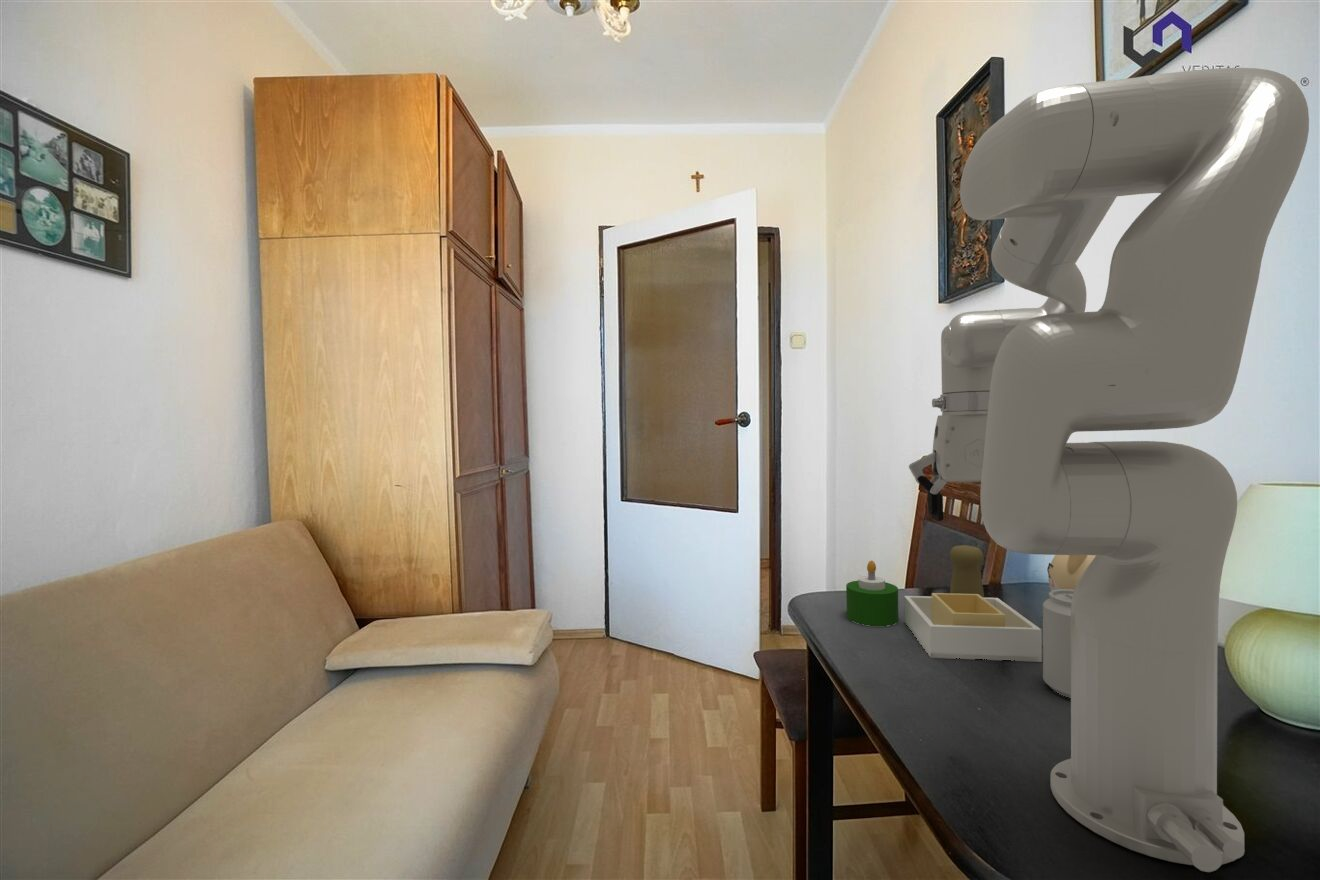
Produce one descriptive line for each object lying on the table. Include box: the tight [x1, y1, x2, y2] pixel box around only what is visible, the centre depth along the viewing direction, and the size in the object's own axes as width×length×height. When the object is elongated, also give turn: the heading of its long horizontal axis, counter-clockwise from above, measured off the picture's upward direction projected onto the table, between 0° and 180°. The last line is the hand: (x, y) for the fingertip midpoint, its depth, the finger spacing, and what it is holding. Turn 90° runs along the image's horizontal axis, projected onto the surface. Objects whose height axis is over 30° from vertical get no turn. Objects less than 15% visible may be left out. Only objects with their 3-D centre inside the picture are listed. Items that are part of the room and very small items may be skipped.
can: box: [1042, 589, 1074, 699], centre depth 71 cm, size 8×8×12 cm
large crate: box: [903, 595, 1043, 663], centre depth 88 cm, size 14×14×4 cm
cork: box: [949, 544, 985, 598], centre depth 103 cm, size 6×6×11 cm
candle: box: [845, 560, 899, 626], centre depth 98 cm, size 8×8×10 cm
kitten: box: [1046, 555, 1096, 591], centre depth 91 cm, size 15×10×15 cm
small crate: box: [931, 592, 1006, 627], centre depth 88 cm, size 10×7×5 cm
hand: (971, 519), depth 87 cm, fingers open, 9 cm apart
